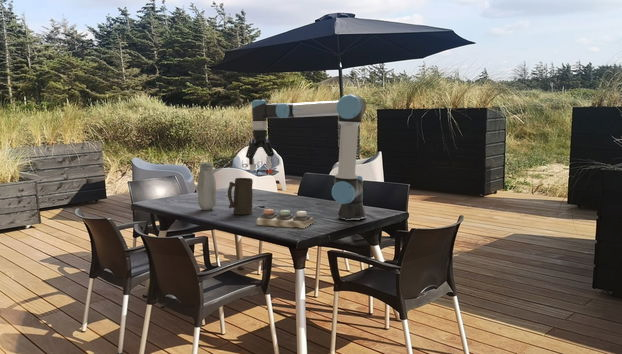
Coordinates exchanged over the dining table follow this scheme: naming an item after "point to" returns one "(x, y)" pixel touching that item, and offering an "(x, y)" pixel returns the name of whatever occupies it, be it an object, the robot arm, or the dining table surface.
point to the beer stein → (241, 196)
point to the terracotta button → (268, 211)
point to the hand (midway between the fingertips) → (260, 169)
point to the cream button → (301, 213)
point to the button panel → (284, 220)
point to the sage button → (284, 212)
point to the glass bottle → (206, 187)
